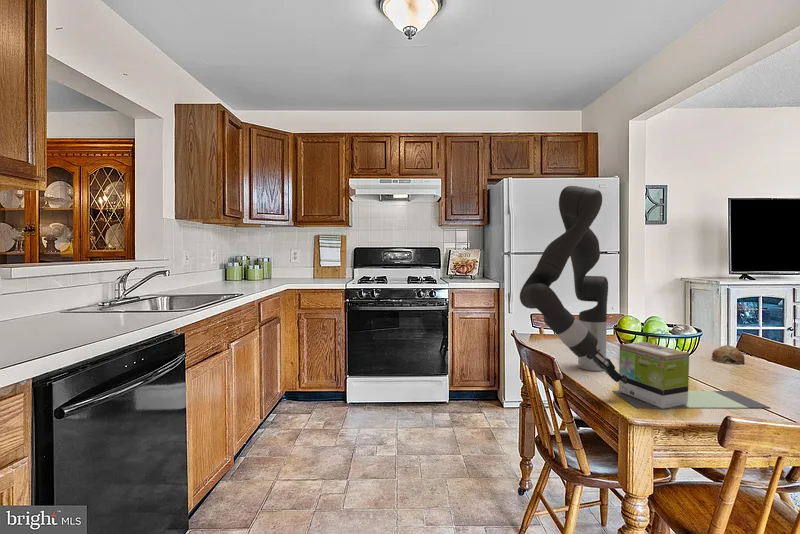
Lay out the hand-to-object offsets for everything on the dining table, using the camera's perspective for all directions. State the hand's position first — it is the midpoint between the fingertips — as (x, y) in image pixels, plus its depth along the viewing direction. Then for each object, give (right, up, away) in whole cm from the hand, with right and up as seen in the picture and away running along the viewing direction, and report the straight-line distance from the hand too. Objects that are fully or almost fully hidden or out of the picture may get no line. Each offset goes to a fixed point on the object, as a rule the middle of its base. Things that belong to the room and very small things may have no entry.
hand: (618, 379), depth 129 cm
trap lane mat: (+20, -6, 0) cm, 20 cm away
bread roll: (+63, -4, +44) cm, 77 cm away
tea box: (+10, -6, 0) cm, 11 cm away
